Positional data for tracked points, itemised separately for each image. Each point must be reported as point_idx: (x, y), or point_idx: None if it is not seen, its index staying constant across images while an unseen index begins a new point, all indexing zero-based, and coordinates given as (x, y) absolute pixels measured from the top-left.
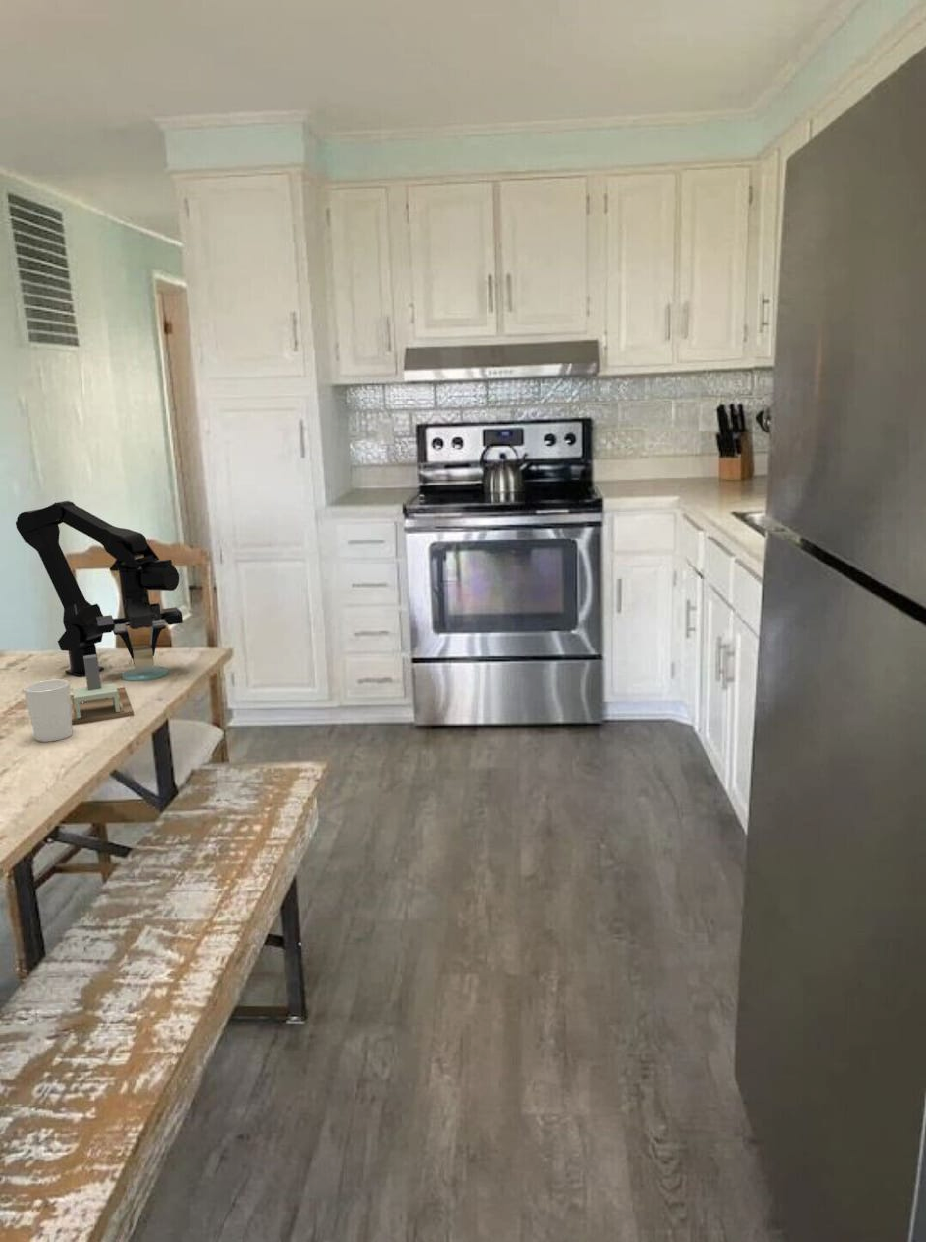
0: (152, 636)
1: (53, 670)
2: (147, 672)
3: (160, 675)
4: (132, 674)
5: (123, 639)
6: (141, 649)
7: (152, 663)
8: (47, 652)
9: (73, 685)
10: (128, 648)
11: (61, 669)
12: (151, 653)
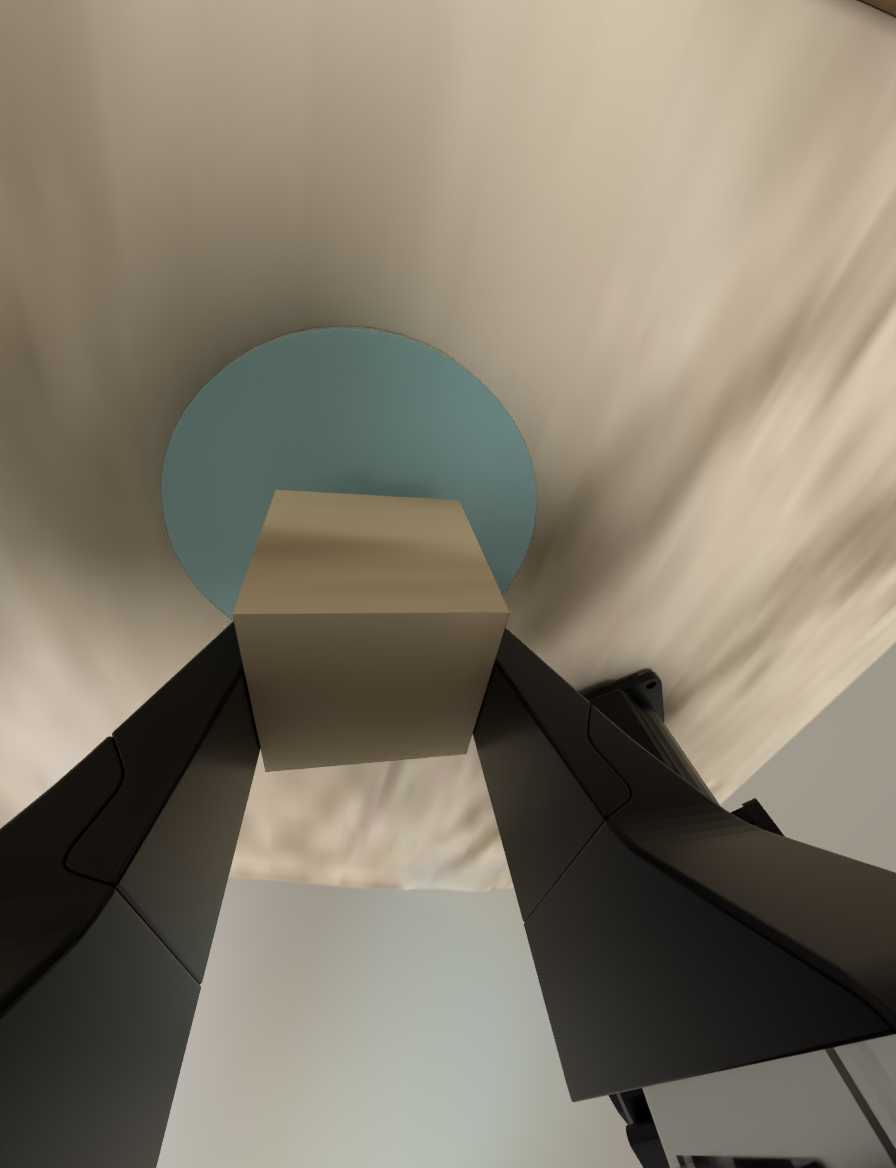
0: (122, 855)
1: None
2: None
3: (233, 363)
4: None
5: (704, 799)
6: (394, 641)
7: (287, 502)
8: None
9: (763, 552)
10: (555, 680)
11: None
12: (265, 568)
